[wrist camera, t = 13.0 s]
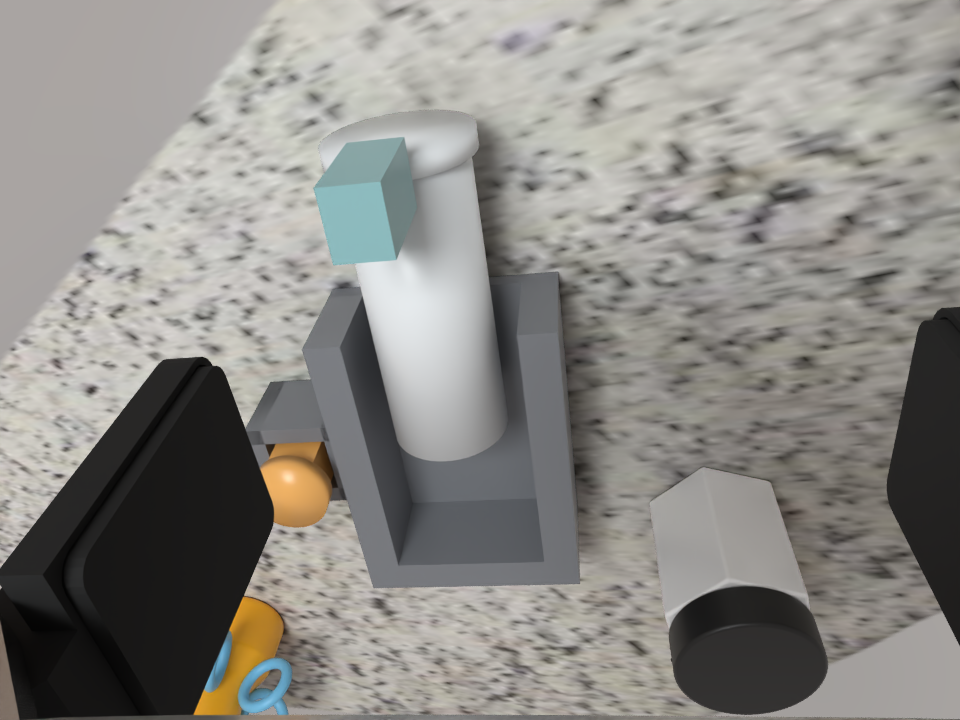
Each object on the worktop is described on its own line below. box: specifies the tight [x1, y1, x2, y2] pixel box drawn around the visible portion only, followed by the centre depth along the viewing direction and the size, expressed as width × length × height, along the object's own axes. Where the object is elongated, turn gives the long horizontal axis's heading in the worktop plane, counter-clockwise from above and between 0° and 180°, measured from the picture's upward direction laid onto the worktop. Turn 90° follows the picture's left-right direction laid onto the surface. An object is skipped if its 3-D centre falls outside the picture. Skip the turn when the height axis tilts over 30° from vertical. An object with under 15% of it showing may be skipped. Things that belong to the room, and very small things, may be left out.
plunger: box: [260, 442, 334, 527], centre depth 46 cm, size 4×4×7 cm
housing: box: [246, 272, 580, 588], centre depth 47 cm, size 19×18×6 cm
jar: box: [649, 467, 828, 715], centre depth 47 cm, size 9×8×12 cm
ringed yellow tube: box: [194, 597, 292, 715], centre depth 56 cm, size 12×10×15 cm
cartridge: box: [314, 110, 508, 461], centre depth 37 cm, size 7×18×13 cm, turn 7°
